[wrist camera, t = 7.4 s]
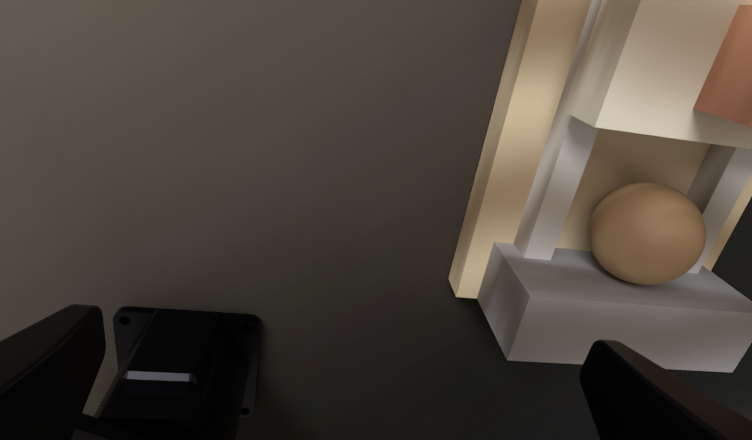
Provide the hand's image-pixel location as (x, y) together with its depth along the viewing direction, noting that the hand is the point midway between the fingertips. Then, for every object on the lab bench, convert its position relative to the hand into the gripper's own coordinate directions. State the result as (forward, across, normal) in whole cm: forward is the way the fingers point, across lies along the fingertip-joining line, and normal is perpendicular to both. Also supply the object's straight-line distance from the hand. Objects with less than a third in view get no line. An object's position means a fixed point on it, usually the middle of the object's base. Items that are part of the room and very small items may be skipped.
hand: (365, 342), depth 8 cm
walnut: (+10, -12, +1) cm, 16 cm away
